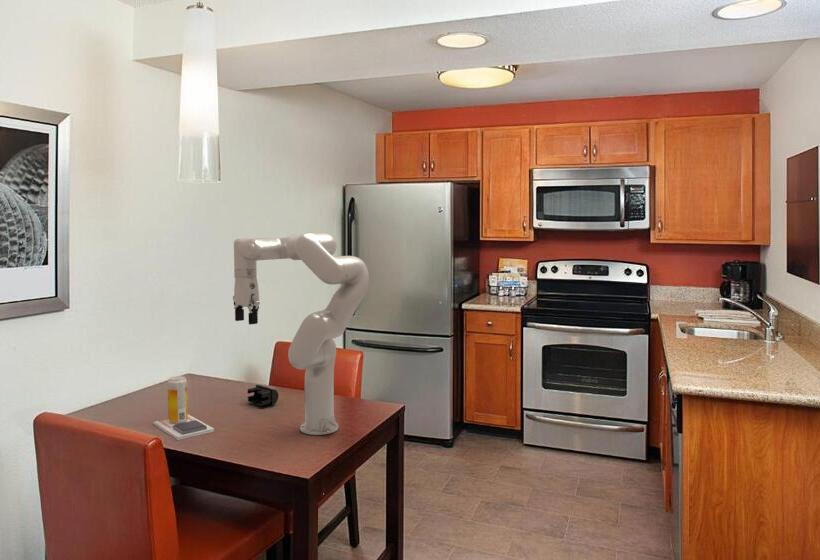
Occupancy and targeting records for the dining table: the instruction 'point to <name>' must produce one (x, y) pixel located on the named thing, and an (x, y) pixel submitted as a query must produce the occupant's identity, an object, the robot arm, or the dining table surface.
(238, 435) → the dining table surface
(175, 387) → the beer can
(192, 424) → the stamping board
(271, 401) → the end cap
